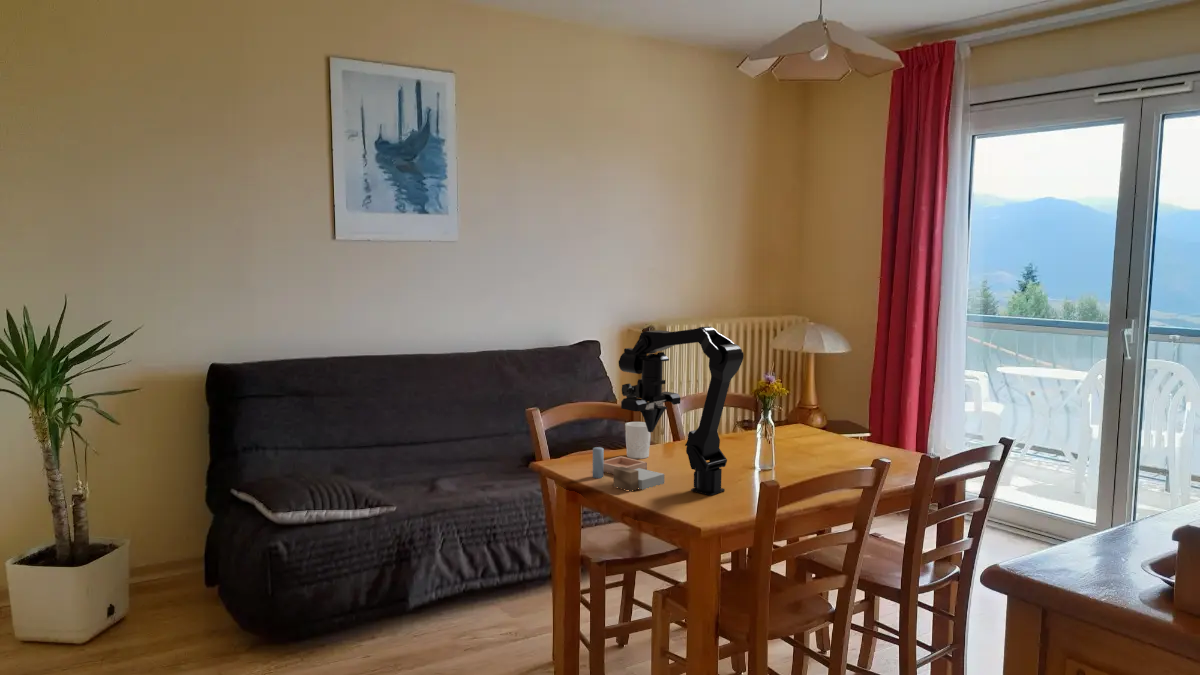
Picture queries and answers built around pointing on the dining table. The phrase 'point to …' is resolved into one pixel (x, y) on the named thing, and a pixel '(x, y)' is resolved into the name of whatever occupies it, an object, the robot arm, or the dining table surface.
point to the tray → (623, 464)
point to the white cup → (637, 440)
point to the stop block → (626, 478)
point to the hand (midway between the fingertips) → (650, 431)
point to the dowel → (598, 462)
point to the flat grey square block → (649, 478)
